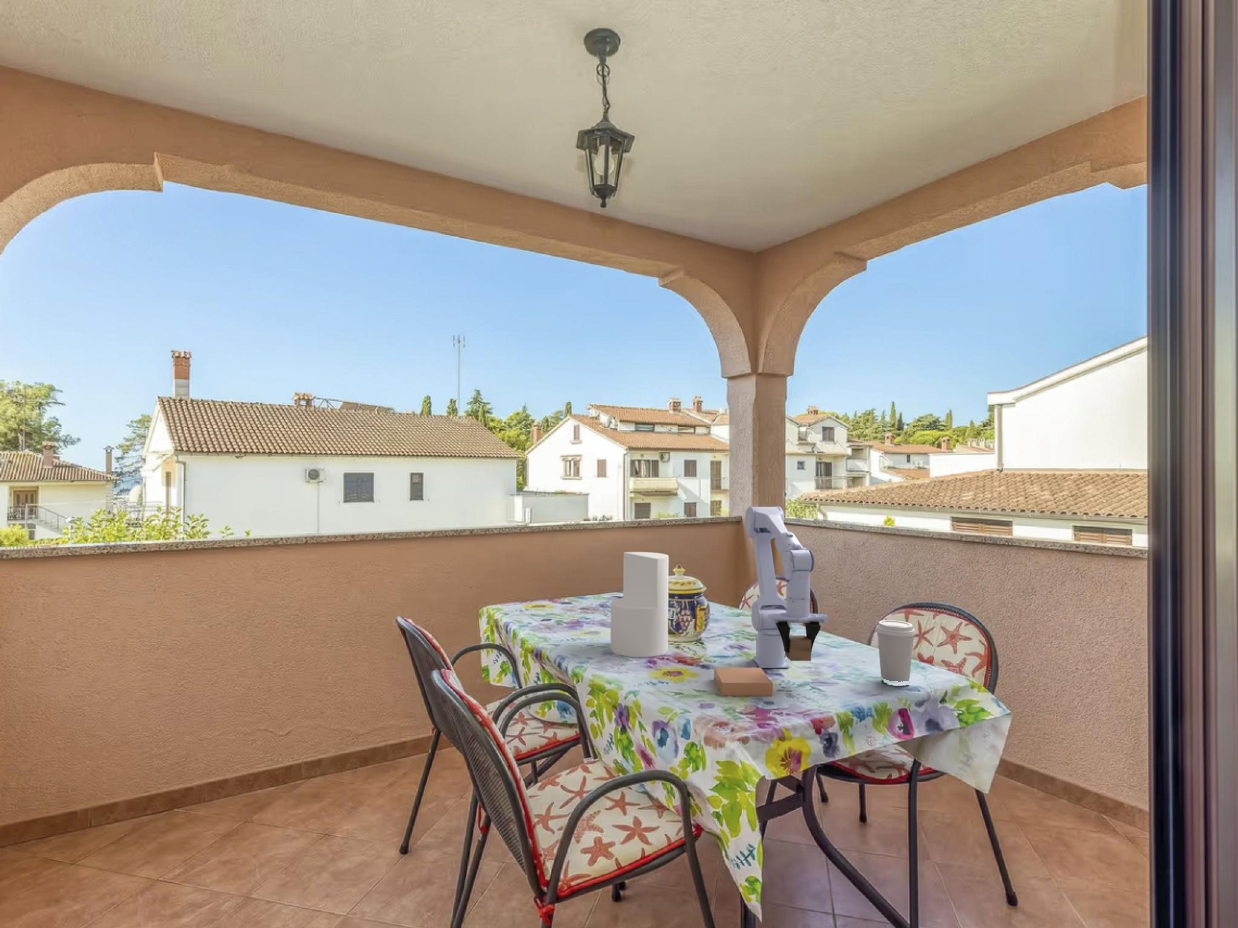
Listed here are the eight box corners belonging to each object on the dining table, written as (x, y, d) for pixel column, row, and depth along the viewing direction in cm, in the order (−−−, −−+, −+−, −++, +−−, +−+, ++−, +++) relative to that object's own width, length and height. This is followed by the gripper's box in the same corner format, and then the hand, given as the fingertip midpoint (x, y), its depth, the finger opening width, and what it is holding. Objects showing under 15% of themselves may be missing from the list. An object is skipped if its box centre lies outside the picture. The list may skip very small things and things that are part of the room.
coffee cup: (868, 682, 164) (868, 623, 164) (884, 674, 170) (884, 617, 170) (906, 691, 157) (907, 630, 157) (921, 682, 163) (922, 623, 164)
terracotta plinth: (714, 679, 165) (714, 667, 165) (760, 679, 165) (760, 667, 165) (722, 695, 153) (722, 682, 153) (772, 695, 153) (772, 682, 153)
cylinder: (645, 638, 205) (645, 550, 205) (679, 651, 190) (680, 556, 191) (599, 646, 195) (600, 554, 195) (632, 660, 181) (633, 560, 181)
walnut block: (785, 654, 163) (785, 635, 163) (804, 655, 163) (804, 635, 163) (790, 660, 158) (791, 640, 158) (811, 660, 158) (811, 640, 158)
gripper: (773, 600, 157) (773, 656, 157) (832, 600, 157) (832, 656, 157) (766, 594, 164) (765, 648, 164) (822, 595, 164) (822, 648, 164)
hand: (797, 651), depth 161 cm, fingers closed on walnut block, 5 cm apart
